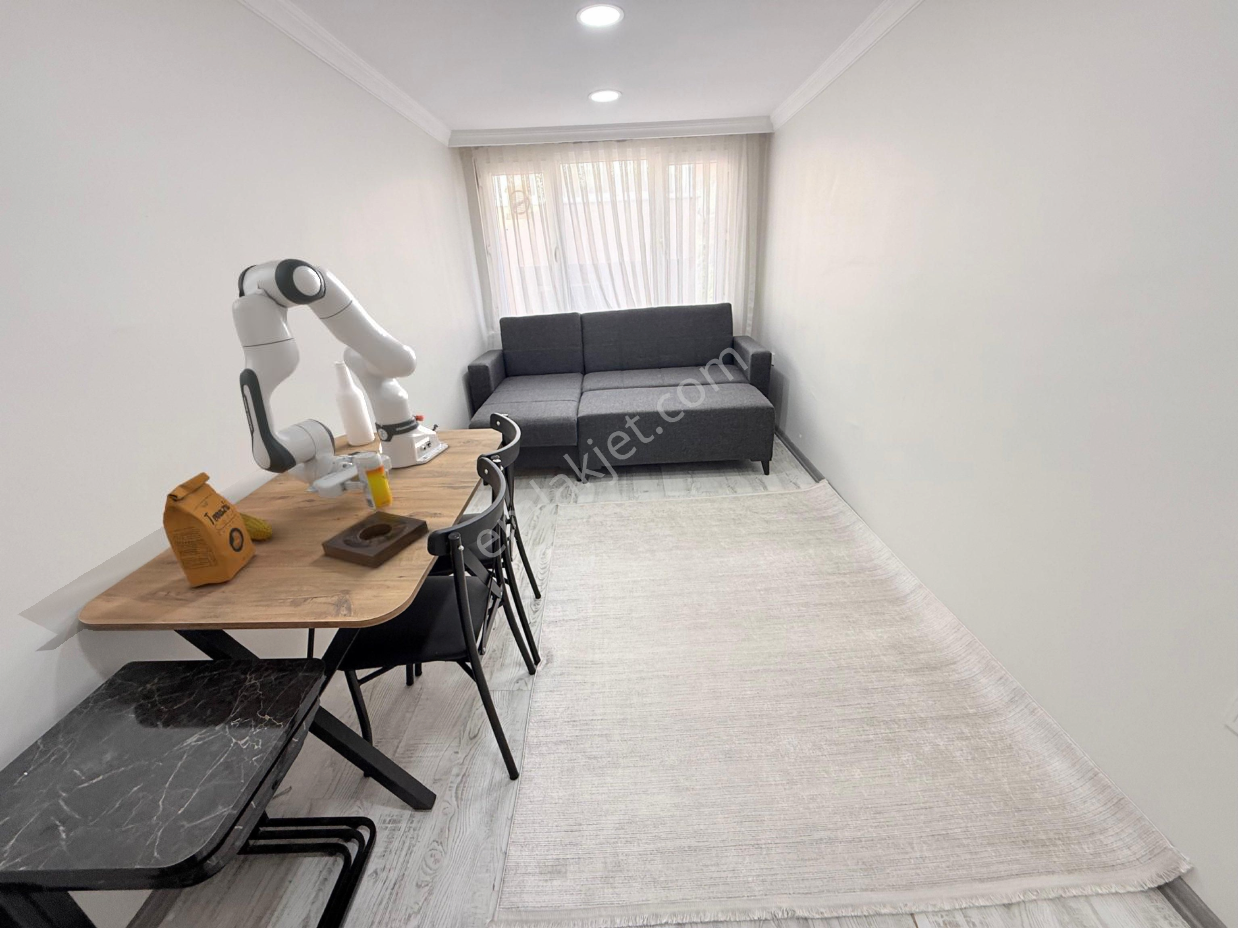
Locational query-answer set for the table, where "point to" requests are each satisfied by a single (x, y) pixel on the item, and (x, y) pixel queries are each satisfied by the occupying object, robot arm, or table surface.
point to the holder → (377, 551)
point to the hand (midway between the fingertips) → (376, 479)
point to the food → (256, 527)
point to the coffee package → (205, 532)
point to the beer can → (373, 480)
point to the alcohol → (352, 408)
